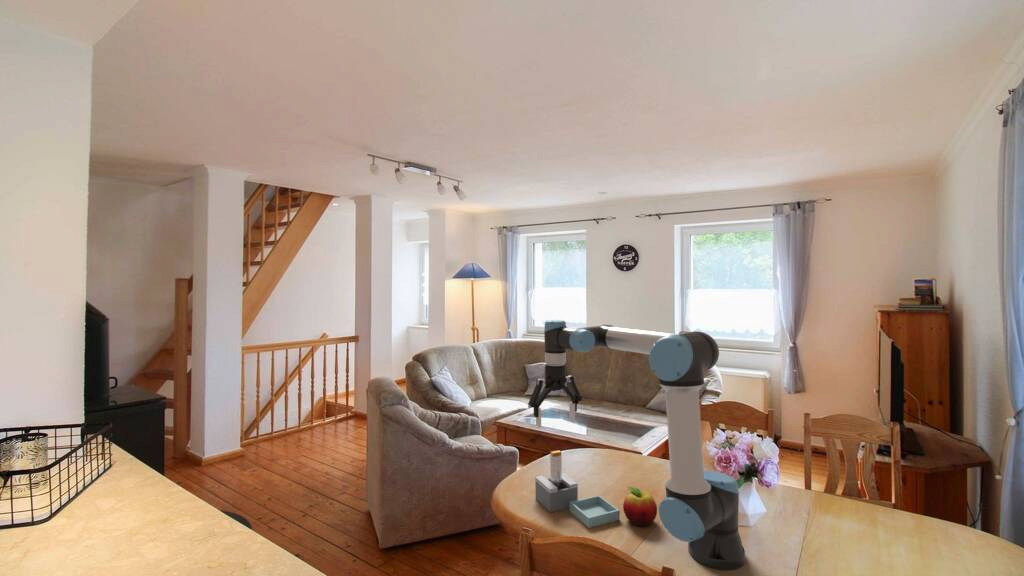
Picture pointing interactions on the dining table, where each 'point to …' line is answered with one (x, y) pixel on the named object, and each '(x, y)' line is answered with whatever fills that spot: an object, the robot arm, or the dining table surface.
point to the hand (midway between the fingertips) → (555, 423)
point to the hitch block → (556, 493)
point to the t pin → (556, 469)
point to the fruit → (640, 507)
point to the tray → (594, 511)
